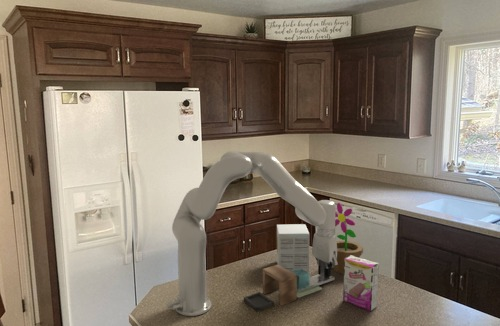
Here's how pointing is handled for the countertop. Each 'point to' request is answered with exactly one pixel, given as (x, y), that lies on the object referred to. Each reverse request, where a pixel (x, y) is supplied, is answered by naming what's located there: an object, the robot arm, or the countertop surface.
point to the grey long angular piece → (311, 278)
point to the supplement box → (293, 247)
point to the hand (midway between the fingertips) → (324, 275)
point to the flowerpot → (345, 246)
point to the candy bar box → (360, 282)
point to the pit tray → (258, 301)
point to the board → (308, 291)
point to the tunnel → (280, 283)
